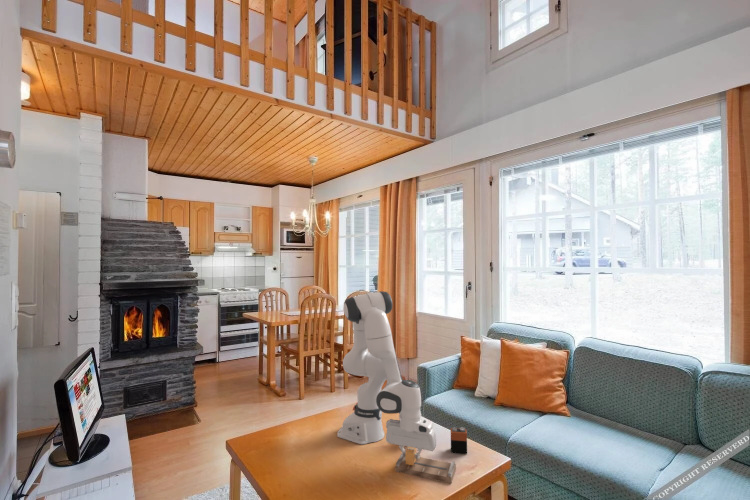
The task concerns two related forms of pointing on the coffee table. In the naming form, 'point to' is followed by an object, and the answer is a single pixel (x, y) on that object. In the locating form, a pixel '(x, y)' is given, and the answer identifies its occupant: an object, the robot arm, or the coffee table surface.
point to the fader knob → (410, 455)
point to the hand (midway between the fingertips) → (410, 457)
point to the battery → (459, 440)
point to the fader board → (427, 469)
